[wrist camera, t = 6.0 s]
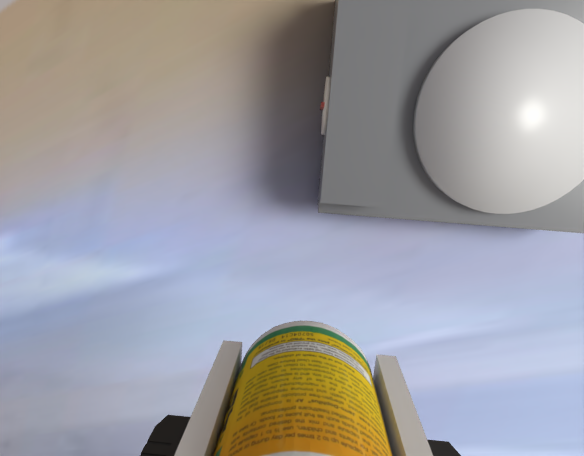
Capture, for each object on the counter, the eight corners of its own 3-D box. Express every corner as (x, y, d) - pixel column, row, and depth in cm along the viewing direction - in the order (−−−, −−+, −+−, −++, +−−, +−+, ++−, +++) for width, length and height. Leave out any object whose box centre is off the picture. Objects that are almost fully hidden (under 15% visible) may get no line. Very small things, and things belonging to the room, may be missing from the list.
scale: (311, 204, 28) (311, 217, 23) (328, 0, 25) (333, -32, 20) (555, 222, 28) (605, 240, 23) (608, 17, 24) (679, -11, 19)
